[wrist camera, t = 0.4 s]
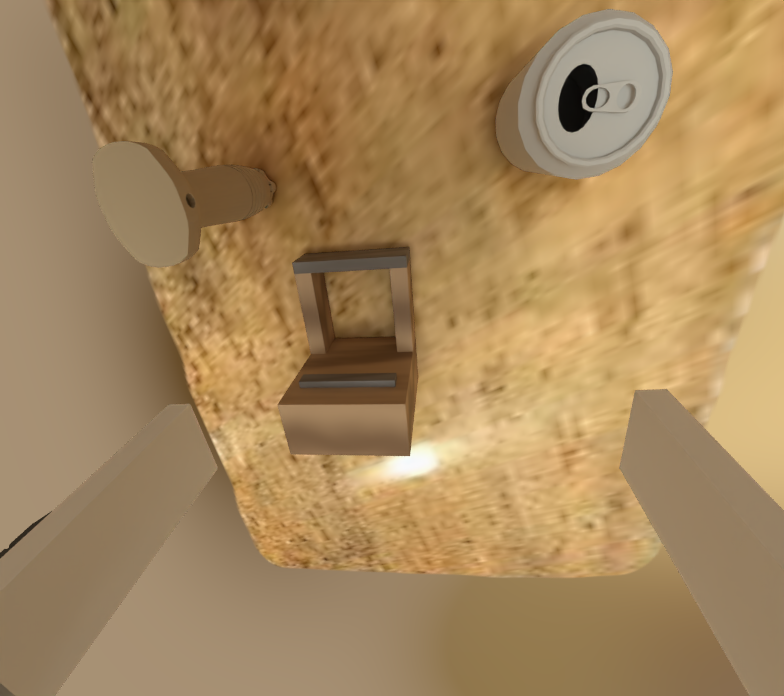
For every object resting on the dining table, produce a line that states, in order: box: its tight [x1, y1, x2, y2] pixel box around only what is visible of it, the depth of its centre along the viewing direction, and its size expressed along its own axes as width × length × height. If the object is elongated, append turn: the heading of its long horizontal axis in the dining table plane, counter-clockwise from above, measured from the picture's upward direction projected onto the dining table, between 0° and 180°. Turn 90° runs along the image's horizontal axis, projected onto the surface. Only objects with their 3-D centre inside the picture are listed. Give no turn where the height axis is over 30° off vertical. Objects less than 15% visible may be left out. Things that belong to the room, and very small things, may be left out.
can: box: [495, 9, 673, 179], centre depth 24 cm, size 8×8×12 cm
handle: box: [92, 141, 276, 267], centre depth 27 cm, size 5×6×15 cm
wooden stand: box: [278, 247, 418, 456], centre depth 33 cm, size 14×10×12 cm
